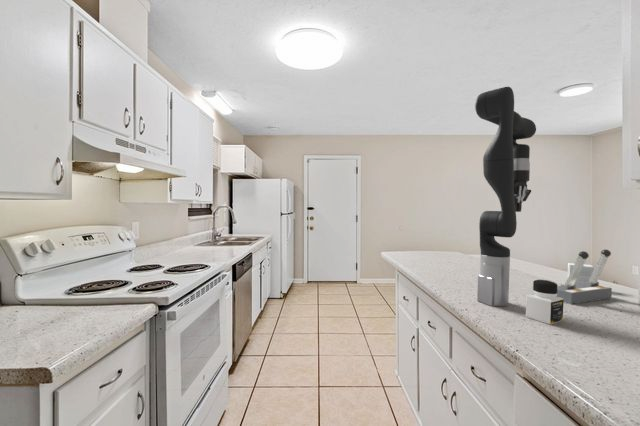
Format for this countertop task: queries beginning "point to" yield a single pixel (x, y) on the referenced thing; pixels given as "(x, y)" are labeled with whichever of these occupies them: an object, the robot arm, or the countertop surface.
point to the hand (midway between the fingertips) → (517, 211)
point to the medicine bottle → (544, 303)
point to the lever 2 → (599, 266)
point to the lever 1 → (576, 269)
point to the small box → (581, 273)
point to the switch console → (583, 292)
